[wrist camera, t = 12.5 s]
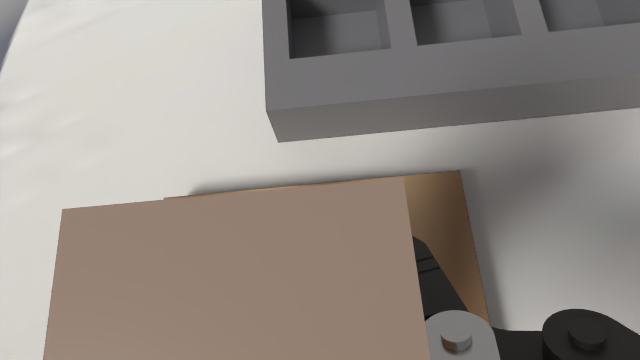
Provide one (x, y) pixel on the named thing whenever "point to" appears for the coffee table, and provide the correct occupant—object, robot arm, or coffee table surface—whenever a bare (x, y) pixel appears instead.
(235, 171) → the coffee table surface
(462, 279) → the rest pad
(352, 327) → the plug
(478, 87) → the grey compartment tray
